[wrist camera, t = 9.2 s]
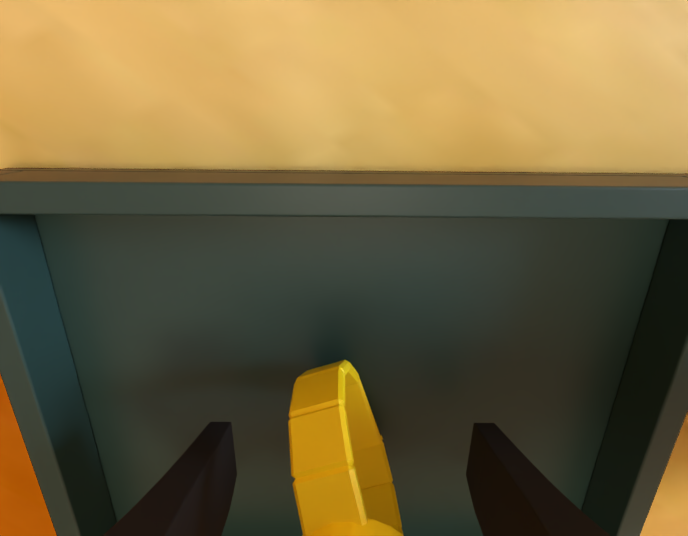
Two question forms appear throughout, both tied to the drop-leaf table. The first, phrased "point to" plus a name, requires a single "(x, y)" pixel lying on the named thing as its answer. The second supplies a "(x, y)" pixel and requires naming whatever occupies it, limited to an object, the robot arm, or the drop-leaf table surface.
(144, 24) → the drop-leaf table surface
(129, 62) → the drop-leaf table surface
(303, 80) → the drop-leaf table surface
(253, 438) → the tray
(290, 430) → the watch
